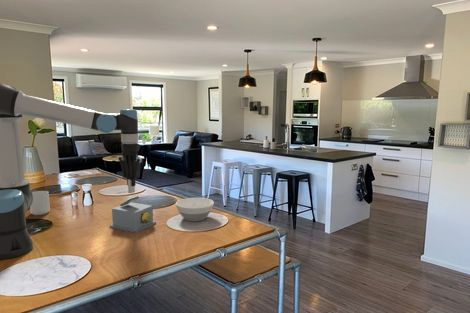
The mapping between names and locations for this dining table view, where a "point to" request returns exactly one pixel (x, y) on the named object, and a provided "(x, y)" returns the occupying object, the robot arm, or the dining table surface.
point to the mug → (40, 203)
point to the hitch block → (131, 217)
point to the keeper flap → (129, 201)
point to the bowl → (194, 208)
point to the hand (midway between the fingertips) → (131, 192)
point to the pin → (145, 217)
